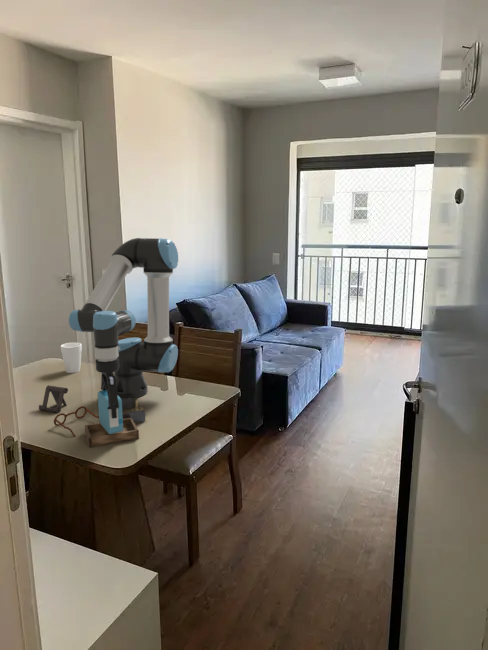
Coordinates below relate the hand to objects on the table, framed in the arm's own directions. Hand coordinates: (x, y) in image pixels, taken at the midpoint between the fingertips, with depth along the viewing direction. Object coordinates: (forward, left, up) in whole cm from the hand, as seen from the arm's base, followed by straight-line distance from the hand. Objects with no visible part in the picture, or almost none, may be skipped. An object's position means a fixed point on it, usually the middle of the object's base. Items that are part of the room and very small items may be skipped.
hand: (110, 418), depth 163 cm
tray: (0, 0, -6) cm, 6 cm away
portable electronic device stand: (+16, -33, -7) cm, 38 cm away
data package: (0, 0, -4) cm, 4 cm away
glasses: (+9, -13, -7) cm, 17 cm away
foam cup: (+5, -79, -7) cm, 80 cm away
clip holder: (-9, -15, -6) cm, 19 cm away
